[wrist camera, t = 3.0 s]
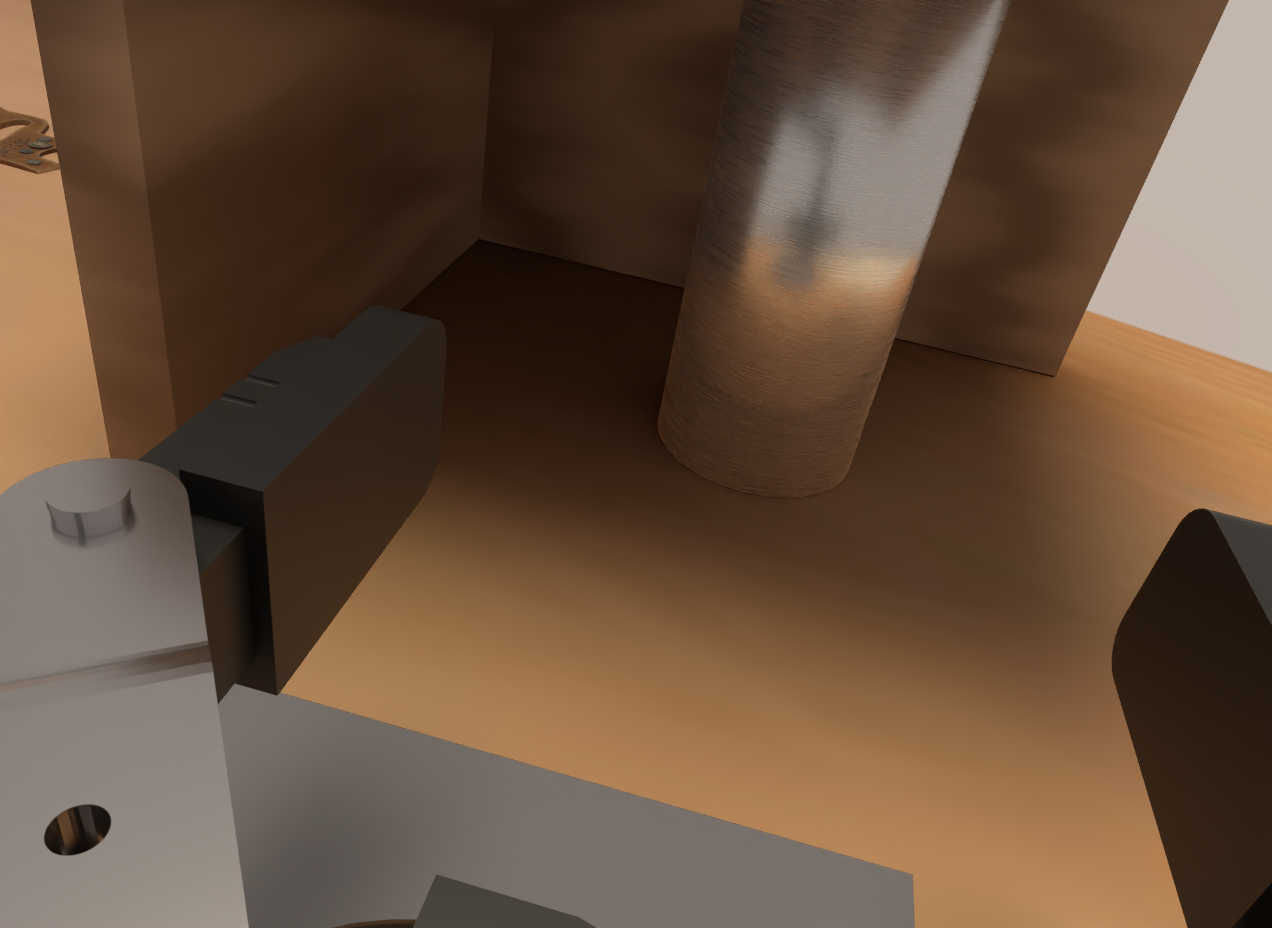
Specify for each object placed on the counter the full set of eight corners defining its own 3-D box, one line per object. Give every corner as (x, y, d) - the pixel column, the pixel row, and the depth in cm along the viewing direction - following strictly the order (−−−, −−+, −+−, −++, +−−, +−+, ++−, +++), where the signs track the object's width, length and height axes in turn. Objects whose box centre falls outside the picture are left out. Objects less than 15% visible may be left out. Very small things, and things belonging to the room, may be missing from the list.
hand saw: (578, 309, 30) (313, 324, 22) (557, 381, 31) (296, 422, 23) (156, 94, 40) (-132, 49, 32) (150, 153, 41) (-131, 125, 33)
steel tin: (638, 465, 22) (741, -57, 16) (676, 373, 27) (768, -71, 21) (847, 519, 22) (1032, 3, 16) (851, 416, 26) (999, -25, 20)
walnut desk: (116, 490, 19) (-157, -1069, 9) (452, 215, 34) (491, -479, 24) (1201, 785, 17) (2394, -769, 7) (1048, 356, 32) (1359, -333, 22)
